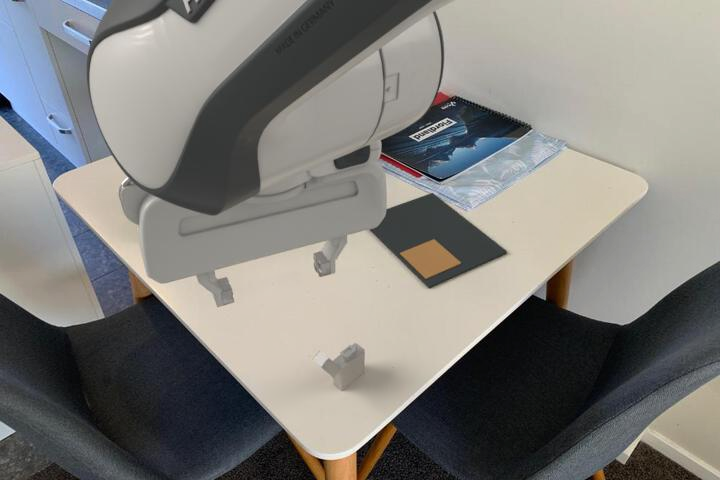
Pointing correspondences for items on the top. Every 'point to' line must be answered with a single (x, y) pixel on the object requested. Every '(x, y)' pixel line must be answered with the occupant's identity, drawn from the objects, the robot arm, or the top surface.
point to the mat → (434, 240)
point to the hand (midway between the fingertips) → (276, 285)
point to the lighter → (343, 365)
